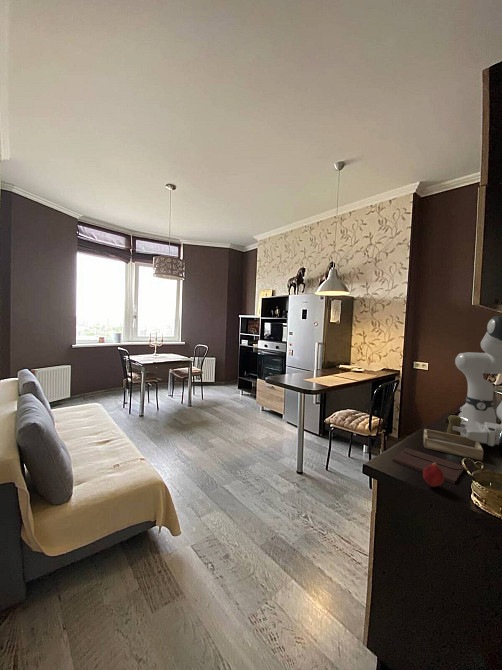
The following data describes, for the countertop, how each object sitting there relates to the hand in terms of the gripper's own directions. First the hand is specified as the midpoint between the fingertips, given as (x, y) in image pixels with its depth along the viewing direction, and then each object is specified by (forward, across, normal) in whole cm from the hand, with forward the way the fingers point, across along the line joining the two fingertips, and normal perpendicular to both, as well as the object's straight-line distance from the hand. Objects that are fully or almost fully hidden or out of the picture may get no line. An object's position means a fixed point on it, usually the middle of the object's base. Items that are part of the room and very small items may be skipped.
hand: (451, 425), depth 137 cm
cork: (-1, 0, +6) cm, 6 cm away
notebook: (+10, +38, +7) cm, 40 cm away
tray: (+1, +13, +6) cm, 14 cm away
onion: (+9, +54, +6) cm, 55 cm away
